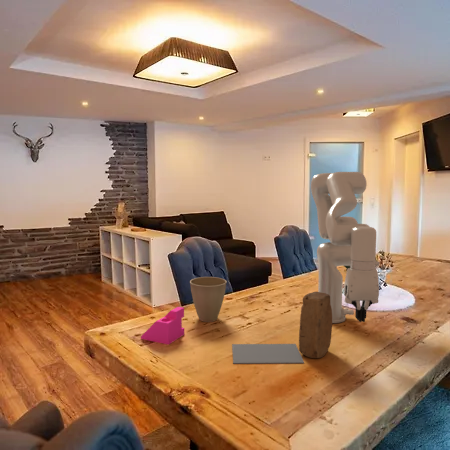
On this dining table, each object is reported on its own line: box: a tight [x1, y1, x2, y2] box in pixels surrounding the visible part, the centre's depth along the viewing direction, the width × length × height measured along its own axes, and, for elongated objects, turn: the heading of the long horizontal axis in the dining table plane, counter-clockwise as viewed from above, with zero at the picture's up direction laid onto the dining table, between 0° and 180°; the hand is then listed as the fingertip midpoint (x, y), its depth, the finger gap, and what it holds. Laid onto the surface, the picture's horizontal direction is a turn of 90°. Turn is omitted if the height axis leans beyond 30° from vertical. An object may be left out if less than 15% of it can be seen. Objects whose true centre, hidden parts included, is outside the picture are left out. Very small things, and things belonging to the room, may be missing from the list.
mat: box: [231, 343, 305, 365], centre depth 127 cm, size 22×14×1 cm, turn 91°
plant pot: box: [189, 276, 227, 323], centre depth 159 cm, size 15×15×16 cm
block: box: [298, 291, 333, 359], centre depth 126 cm, size 11×8×20 cm
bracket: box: [140, 306, 185, 346], centre depth 141 cm, size 12×10×10 cm
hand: (360, 320), depth 126 cm, fingers closed
